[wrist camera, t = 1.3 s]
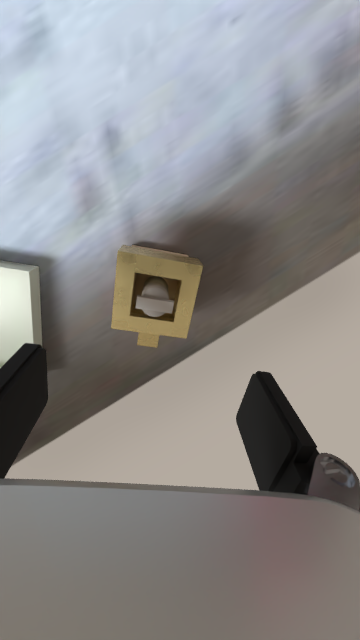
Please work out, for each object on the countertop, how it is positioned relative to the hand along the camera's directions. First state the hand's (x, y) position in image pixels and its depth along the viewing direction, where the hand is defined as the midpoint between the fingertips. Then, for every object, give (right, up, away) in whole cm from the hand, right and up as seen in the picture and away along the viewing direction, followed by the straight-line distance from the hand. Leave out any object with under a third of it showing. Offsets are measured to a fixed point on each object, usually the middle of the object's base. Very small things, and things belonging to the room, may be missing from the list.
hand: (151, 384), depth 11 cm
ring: (-1, +6, +13) cm, 14 cm away
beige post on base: (-1, +8, +17) cm, 18 cm away
